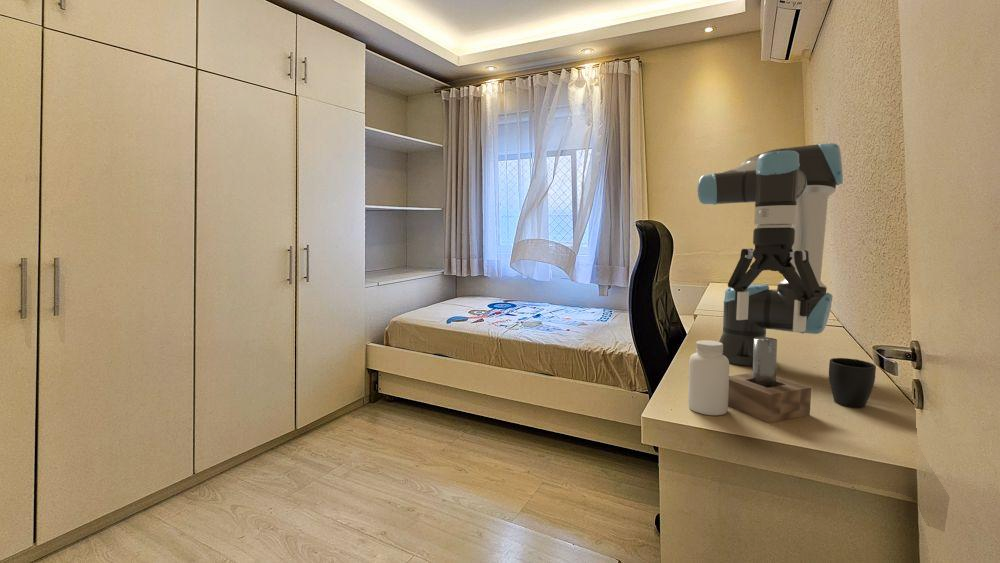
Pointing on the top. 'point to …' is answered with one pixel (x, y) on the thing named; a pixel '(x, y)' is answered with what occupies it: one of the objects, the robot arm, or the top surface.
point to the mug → (851, 381)
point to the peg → (764, 361)
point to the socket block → (769, 398)
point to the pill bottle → (708, 379)
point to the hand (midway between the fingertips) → (768, 325)
